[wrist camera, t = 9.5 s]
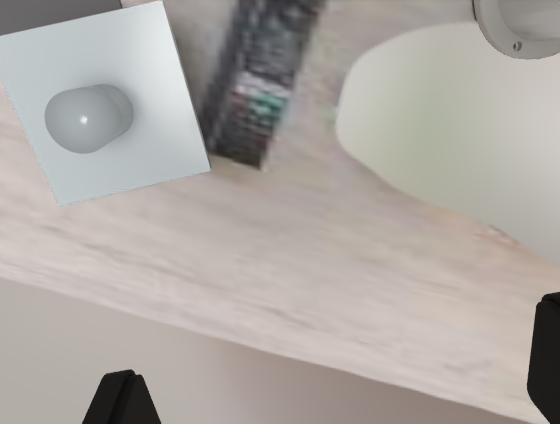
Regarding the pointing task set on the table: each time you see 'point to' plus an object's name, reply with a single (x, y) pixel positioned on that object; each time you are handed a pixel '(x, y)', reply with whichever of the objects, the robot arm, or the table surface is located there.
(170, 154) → the lid
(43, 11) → the mat
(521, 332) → the table surface
